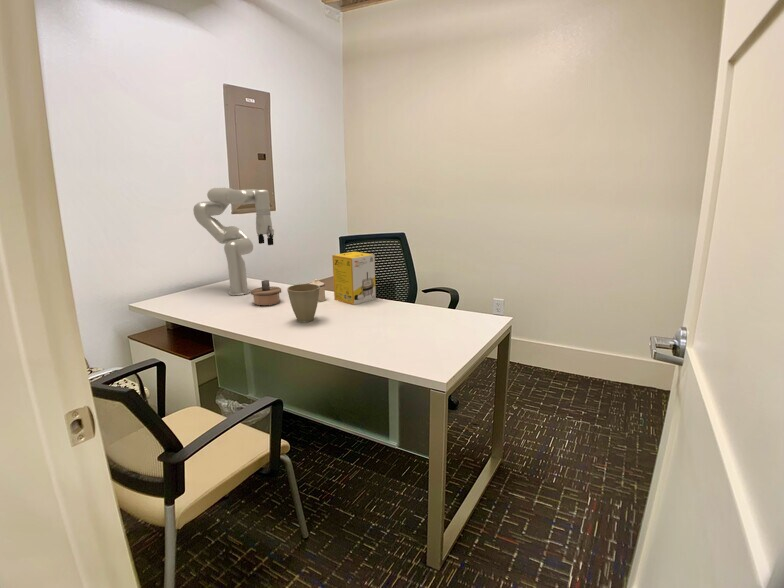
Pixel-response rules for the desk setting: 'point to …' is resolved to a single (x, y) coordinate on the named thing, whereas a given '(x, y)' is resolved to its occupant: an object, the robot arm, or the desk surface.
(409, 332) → the desk surface
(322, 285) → the teacup with lid
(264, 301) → the bowl
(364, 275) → the packaging box
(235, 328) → the desk surface
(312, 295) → the plant pot
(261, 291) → the lid
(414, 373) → the desk surface
